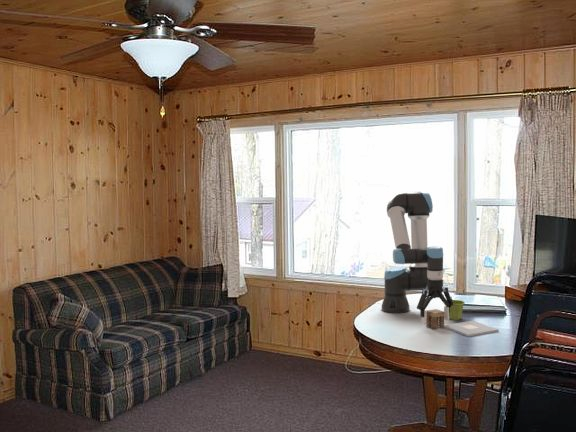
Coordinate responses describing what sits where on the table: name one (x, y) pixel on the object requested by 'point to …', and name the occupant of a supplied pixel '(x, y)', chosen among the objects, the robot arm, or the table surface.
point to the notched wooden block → (435, 318)
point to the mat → (470, 328)
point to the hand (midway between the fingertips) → (435, 321)
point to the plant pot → (456, 309)
